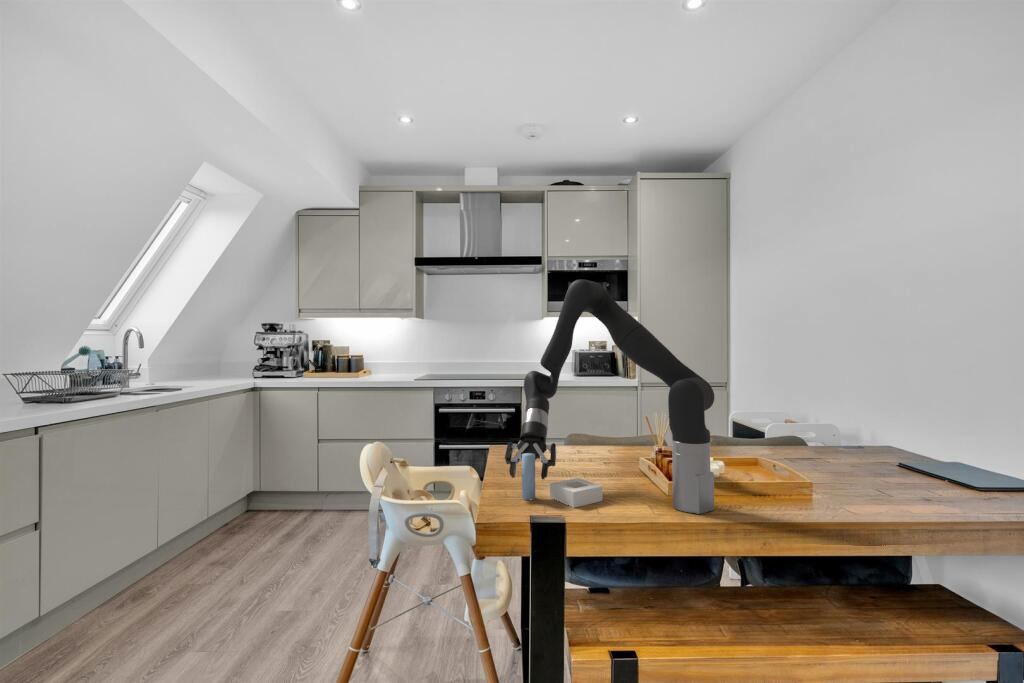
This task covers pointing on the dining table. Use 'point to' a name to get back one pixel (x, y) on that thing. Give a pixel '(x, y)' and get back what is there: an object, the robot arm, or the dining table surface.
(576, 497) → the socket
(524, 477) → the peg
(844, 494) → the dining table surface
